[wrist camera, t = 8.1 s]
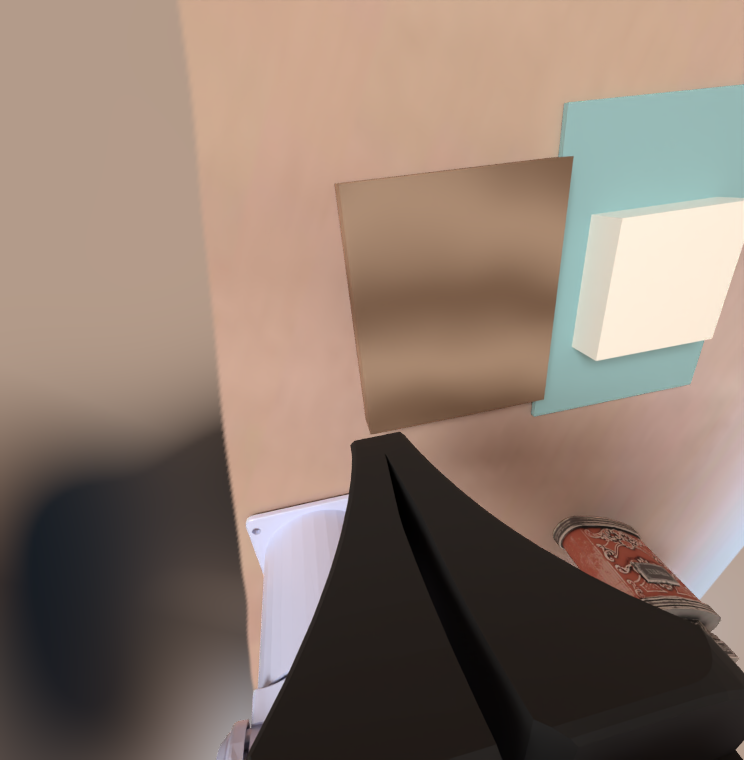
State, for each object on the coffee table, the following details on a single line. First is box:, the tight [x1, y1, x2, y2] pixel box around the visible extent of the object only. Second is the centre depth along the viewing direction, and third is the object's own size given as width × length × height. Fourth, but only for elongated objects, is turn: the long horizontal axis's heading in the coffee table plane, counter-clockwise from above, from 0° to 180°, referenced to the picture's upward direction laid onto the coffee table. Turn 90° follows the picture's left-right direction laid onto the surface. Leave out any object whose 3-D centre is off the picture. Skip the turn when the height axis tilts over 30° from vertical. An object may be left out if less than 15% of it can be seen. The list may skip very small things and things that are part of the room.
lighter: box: [553, 516, 739, 663], centre depth 27 cm, size 8×3×10 cm, turn 68°
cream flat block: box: [572, 197, 744, 361], centre depth 20 cm, size 7×7×2 cm
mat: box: [531, 85, 744, 417], centre depth 21 cm, size 16×11×1 cm
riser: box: [335, 156, 574, 434], centre depth 19 cm, size 12×10×2 cm
